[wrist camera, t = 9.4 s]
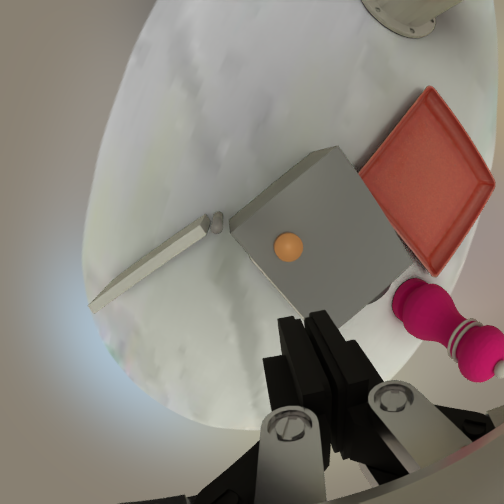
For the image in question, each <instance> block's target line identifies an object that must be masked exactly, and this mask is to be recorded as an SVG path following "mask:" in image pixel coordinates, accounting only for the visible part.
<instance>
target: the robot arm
mask: <svg viewBox="0 0 504 504" xmlns="http://www.w3.org/2000/svg"><path fill="white" fill-rule="evenodd" d="M462 1H464V0H362V2H363V4H364V5H365V7H366V8H367V10H368V11H369V12H370V13H371V14H372V15H373V16H374V17H375V18H376V19H377V20H378V21H379V22H380V23H382V24H383V25H384V26H386V27H387V28H389V29H390V30H392V31H394V32H396V33H398V34H400V35H403V36H406V37H410V38H421V37H424V36H426V35H428V34H429V33H431V32H432V31H433V29H434V27H435V23H436V18H435V17H436V16H438V15H440V14H441V13H443V12H445V11H446V10H448V9H450V8H451V7H453V6H455V5H457V4H458V3H460V2H462ZM304 325H305V328H304V326H303V324H302V321H301V319H295V318H294V316H289V317H284V318H278V328H279V335H280V343H281V351H282V355H279V356H274V357H268V358H263V364H264V370H265V376H266V382H267V388H268V394H269V399H270V405H271V410H272V412H271V413H269V414H268V415H267V416H266V417H265V418H264V420H263V421H262V425H261V432H260V440H259V441H258V442H257V443H256V444H255V445H254V446H253V447H252V448H251V449H249V450H248V451H247V452H246V453H245V454H244V455H243V456H242V457H241V458H239V459H238V460H237V461H236V462H235V463H234V464H233V465H231V466H230V467H229V468H228V469H227V470H226V471H224V472H223V473H222V474H221V475H220V476H219V477H217V478H216V479H215V480H213V481H212V482H211V483H210V484H209V485H207V486H206V487H205V488H204V489H202V490H201V492H200V493H199V494H198V495H195V496H190V497H186V495H179V496H173V497H167V498H160V499H153V500H146V501H137V502H126V503H119V504H504V405H503V406H500V407H497V408H495V409H492V410H489V411H487V412H486V415H484V414H481V413H478V412H473V411H467V410H461V409H455V408H449V407H444V406H438V405H434V404H432V403H431V402H430V401H429V400H428V399H427V398H426V397H425V396H424V395H423V394H422V393H420V392H419V391H418V390H417V389H416V388H415V387H414V386H412V385H411V384H410V383H407V382H404V381H398V380H391V381H386V382H384V381H383V380H382V378H381V377H380V375H379V374H378V372H377V371H376V369H375V368H374V366H373V365H372V363H371V362H370V360H369V359H368V358H367V356H366V355H365V353H364V352H363V350H362V349H361V347H360V346H359V344H358V343H357V342H356V341H355V340H350V341H345V339H344V338H343V336H342V335H341V333H340V332H339V330H338V328H337V327H336V325H335V324H334V322H333V321H332V319H331V318H330V316H329V314H328V313H327V311H326V310H320V311H315V312H310V313H309V317H306V318H304ZM330 444H331V445H332V448H333V451H334V452H335V453H337V452H340V453H341V456H342V459H343V460H344V459H348V458H350V460H353V461H357V462H359V467H360V469H361V471H362V472H363V474H364V476H365V477H366V479H367V480H368V482H369V483H370V485H371V486H372V488H371V489H368V490H365V491H362V492H359V493H355V494H352V495H349V496H345V497H341V498H338V499H334V500H330V501H327V500H326V489H325V477H324V471H325V470H326V469H327V467H328V466H329V462H330V446H331V445H330Z"/></svg>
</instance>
